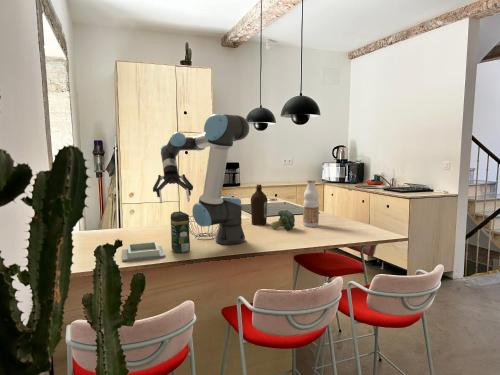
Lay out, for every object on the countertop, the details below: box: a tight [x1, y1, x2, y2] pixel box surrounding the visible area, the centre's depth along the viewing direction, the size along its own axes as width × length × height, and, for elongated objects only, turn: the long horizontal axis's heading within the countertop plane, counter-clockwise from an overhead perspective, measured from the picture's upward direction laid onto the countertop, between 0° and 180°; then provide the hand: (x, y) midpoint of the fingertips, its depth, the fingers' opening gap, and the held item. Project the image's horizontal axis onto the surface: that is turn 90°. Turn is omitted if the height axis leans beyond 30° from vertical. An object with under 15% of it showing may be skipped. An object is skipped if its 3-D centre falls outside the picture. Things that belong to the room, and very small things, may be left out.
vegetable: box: [270, 209, 296, 231], centre depth 210 cm, size 12×13×15 cm
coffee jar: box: [170, 210, 191, 254], centre depth 167 cm, size 10×8×19 cm
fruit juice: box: [302, 179, 320, 228], centre depth 219 cm, size 9×9×28 cm
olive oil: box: [250, 184, 268, 226], centre depth 224 cm, size 11×11×25 cm
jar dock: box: [121, 241, 166, 263], centre depth 162 cm, size 18×16×4 cm
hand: (175, 201), depth 177 cm, fingers open, 13 cm apart
